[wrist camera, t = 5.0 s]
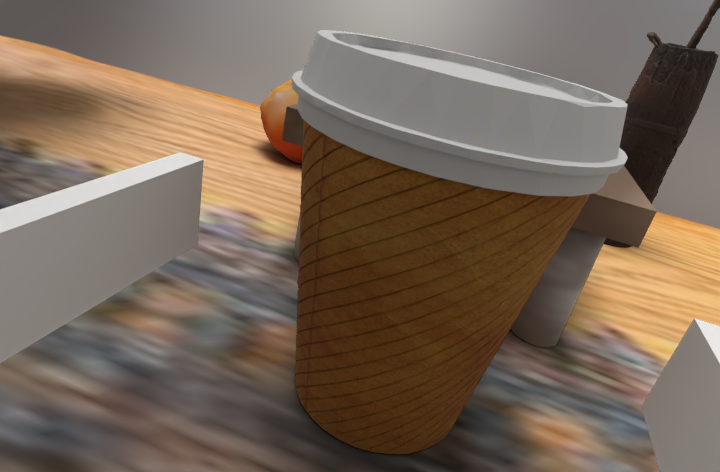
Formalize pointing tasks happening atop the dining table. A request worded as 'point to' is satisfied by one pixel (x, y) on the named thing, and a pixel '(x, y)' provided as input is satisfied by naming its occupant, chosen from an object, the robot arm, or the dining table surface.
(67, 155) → the dining table surface
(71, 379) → the dining table surface
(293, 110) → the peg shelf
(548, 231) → the disposable coffee cup
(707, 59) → the butter churn
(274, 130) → the fruit
